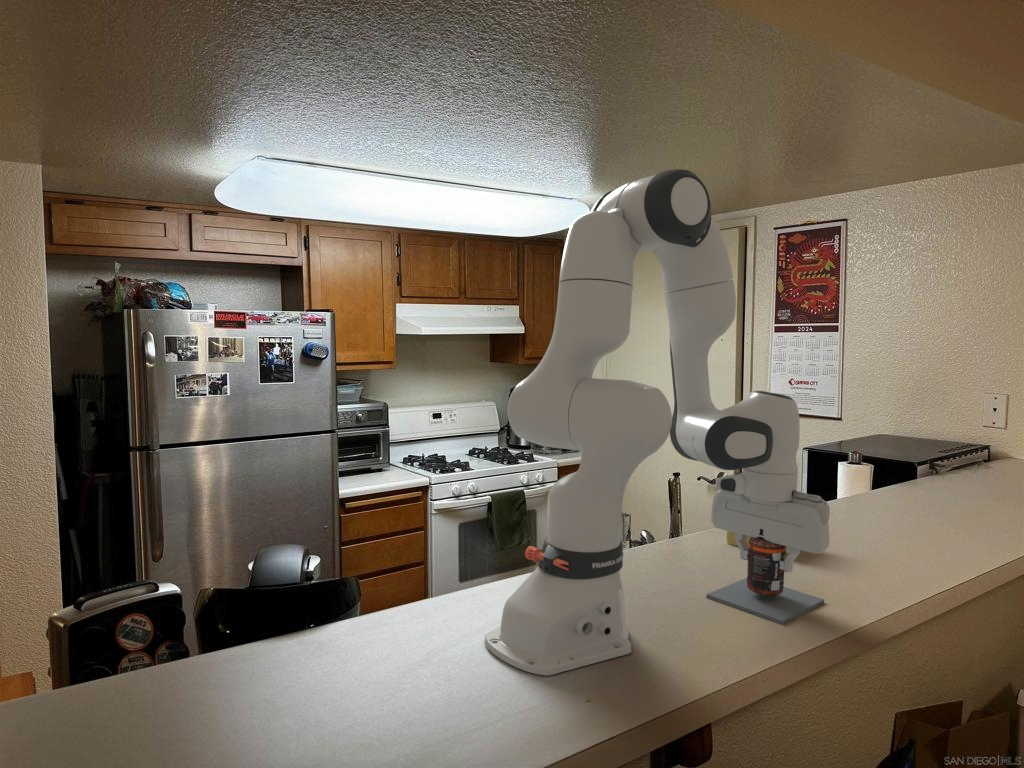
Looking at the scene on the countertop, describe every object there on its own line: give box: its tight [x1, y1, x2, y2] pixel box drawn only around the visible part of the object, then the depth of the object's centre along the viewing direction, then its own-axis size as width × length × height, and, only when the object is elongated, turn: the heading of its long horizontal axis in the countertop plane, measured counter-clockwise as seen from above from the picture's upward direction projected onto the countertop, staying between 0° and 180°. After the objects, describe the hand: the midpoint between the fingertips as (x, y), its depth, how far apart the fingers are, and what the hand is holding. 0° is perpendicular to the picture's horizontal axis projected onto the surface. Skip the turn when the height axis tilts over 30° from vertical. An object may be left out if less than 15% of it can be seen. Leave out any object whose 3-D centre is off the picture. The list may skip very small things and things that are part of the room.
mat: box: [706, 577, 825, 625], centre depth 118 cm, size 14×14×1 cm
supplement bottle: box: [746, 529, 786, 596], centre depth 118 cm, size 6×6×11 cm
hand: (765, 565), depth 118 cm, fingers closed on supplement bottle, 6 cm apart
